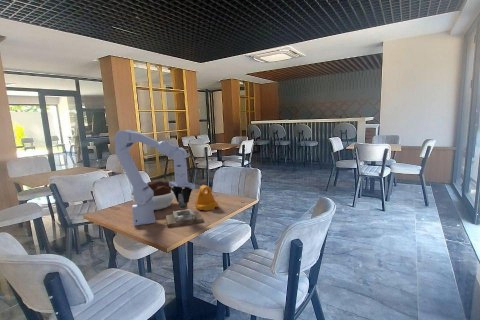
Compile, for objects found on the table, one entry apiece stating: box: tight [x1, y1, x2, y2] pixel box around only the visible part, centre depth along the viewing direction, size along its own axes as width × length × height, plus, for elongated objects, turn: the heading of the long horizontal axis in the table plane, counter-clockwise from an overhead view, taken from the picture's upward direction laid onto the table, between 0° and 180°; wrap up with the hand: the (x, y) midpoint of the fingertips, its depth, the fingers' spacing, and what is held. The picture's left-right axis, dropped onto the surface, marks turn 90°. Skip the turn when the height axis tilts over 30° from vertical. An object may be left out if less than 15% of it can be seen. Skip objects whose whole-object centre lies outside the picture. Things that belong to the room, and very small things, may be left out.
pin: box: [177, 192, 188, 209], centre depth 122 cm, size 4×4×7 cm
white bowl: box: [129, 180, 176, 211], centre depth 143 cm, size 25×25×15 cm
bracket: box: [194, 184, 219, 211], centre depth 139 cm, size 11×7×12 cm, turn 119°
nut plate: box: [165, 208, 204, 228], centre depth 123 cm, size 16×12×4 cm
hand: (182, 202), depth 122 cm, fingers closed on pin, 4 cm apart
